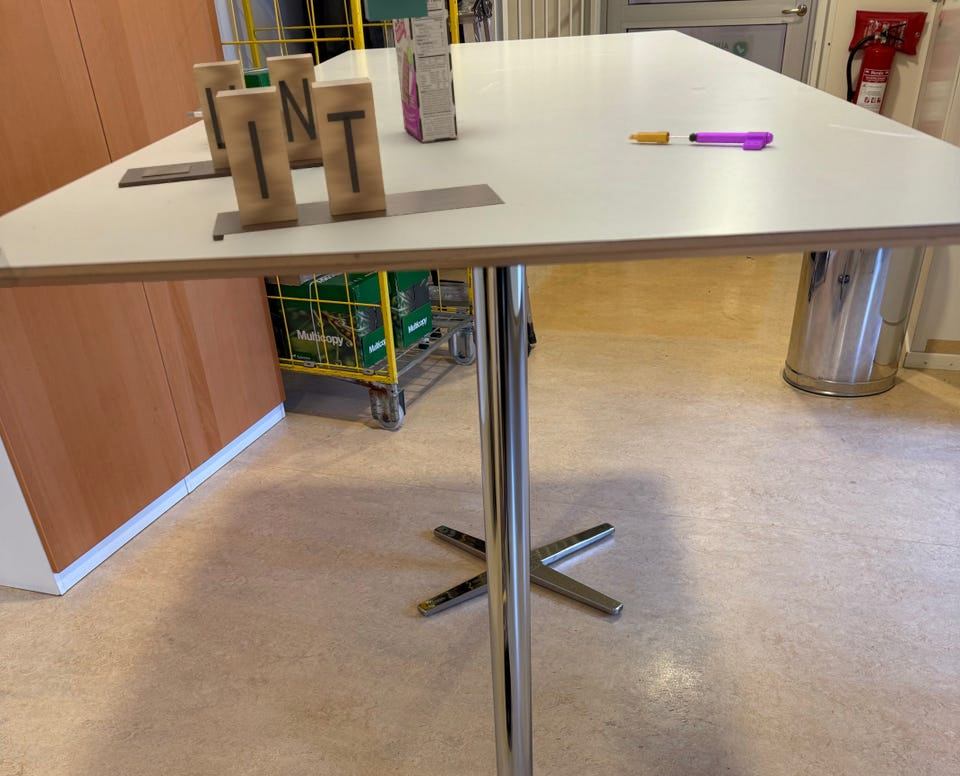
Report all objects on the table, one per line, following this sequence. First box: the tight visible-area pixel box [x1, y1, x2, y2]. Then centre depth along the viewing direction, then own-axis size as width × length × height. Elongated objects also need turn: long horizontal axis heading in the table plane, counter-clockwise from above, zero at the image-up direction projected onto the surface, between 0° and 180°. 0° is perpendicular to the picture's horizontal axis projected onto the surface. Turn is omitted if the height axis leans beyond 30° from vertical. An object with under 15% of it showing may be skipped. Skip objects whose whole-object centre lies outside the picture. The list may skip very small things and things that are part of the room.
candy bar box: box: [391, 0, 459, 143], centre depth 112 cm, size 11×5×16 cm, turn 15°
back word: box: [117, 53, 323, 188], centre depth 104 cm, size 26×9×10 cm, turn 100°
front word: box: [212, 76, 506, 241], centre depth 82 cm, size 26×9×10 cm, turn 100°
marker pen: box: [628, 130, 774, 151], centre depth 99 cm, size 3×1×16 cm
